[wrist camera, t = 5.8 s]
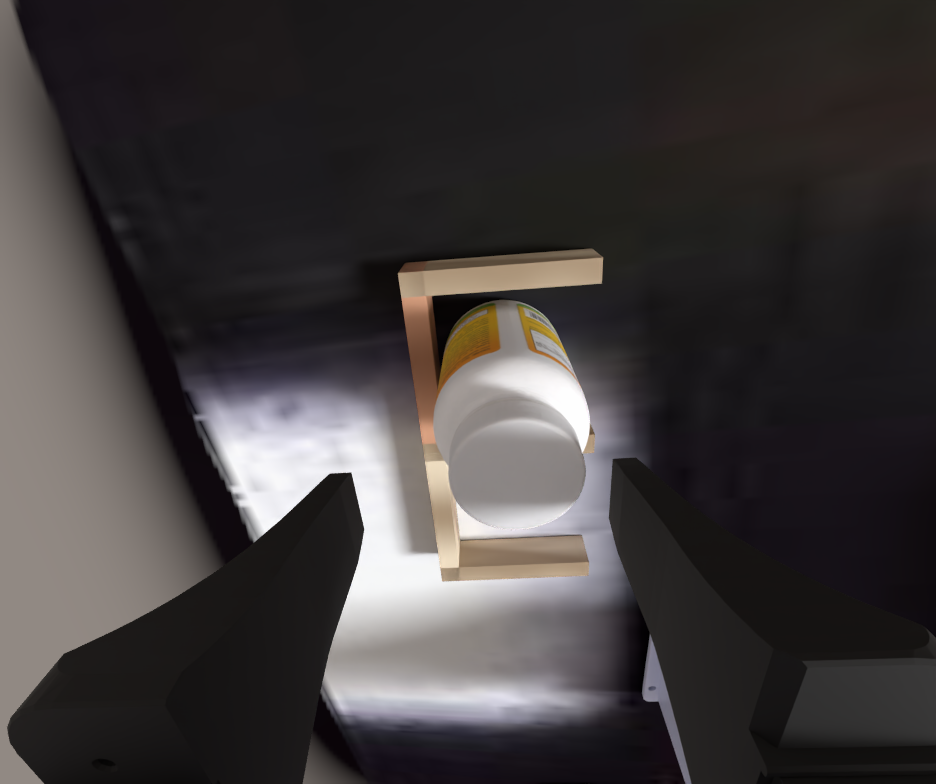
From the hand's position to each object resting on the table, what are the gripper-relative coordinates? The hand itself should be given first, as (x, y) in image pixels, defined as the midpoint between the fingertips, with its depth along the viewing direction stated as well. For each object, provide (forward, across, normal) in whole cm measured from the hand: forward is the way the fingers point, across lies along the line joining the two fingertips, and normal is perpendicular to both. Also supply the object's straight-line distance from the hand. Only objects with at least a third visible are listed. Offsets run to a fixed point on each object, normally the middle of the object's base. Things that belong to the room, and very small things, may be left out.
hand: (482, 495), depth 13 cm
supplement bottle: (+10, -1, 0) cm, 11 cm away
